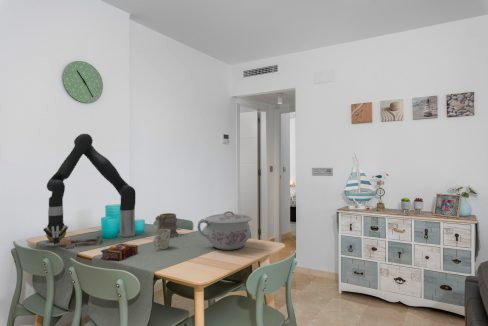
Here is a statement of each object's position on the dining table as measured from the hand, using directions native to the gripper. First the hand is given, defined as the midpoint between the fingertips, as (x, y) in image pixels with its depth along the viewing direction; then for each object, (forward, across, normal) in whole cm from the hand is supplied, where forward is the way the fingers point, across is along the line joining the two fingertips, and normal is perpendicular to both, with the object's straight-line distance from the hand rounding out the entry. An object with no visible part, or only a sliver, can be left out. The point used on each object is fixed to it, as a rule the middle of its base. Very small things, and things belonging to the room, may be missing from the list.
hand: (56, 243), depth 186 cm
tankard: (+2, -62, -3) cm, 62 cm away
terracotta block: (+2, -5, 0) cm, 5 cm away
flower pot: (+2, +2, -14) cm, 14 cm away
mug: (+2, -57, +27) cm, 63 cm away
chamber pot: (+2, -94, +36) cm, 101 cm away
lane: (+1, -14, 0) cm, 14 cm away
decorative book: (+2, -35, +34) cm, 49 cm away
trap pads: (+1, -11, 0) cm, 11 cm away
